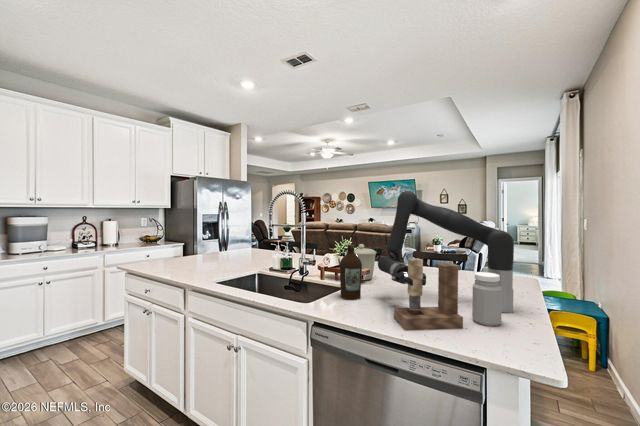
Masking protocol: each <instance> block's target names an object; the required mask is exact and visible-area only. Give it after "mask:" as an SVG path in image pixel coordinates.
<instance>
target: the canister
mask: <svg viewBox="0 0 640 426" xmlns="http://www.w3.org/2000/svg"><path fill="white" fill-rule="evenodd" d="M357 248H358V249H357V250H356V251H354V253H355V254H356V253H358V254H357V255H358V258H359V259H360V260H361V263H362V269H364V268H370V269H371V272H370V274H368V275H366V276H365V280H364V281H368V280H372V278H373V276H374V270H375V261H376V254H377V251H375V250H374V249H372V248H365V244H363V243H360V244H358V247H357Z"/></svg>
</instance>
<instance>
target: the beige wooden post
mask: <svg viewBox="0 0 640 426" xmlns="http://www.w3.org/2000/svg"><path fill="white" fill-rule="evenodd" d="M407 266H408V278H411V279H412V280H413V286H410V285H409V284H407V294H408V297H409V298H408V299H409V300H408V303H409V304H408V307H410V308H411V309H420V307H421V297H422V296H423V285H422V281H423V273H424V259H421V258H418V257H416V258H415V257H414V258H413V257H412V258H411V257H410V258H407Z"/></svg>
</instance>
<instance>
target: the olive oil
mask: <svg viewBox="0 0 640 426" xmlns="http://www.w3.org/2000/svg"><path fill="white" fill-rule="evenodd" d="M354 248H355V245H354V244H347V248H346V249H347V250H346V253H345V255H343V257H342V258H341V260H340V261H339V278H340V279H339V280H340V297H341V299H343V300H349V301H350V300H351V301H354V300H355V301H356V300H359V299H360V298H361V293H362V288H361V287H362V280H361V274H362V263H361V260H360V259H359V258H358V257H357V256H356V254H355V253H354Z"/></svg>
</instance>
